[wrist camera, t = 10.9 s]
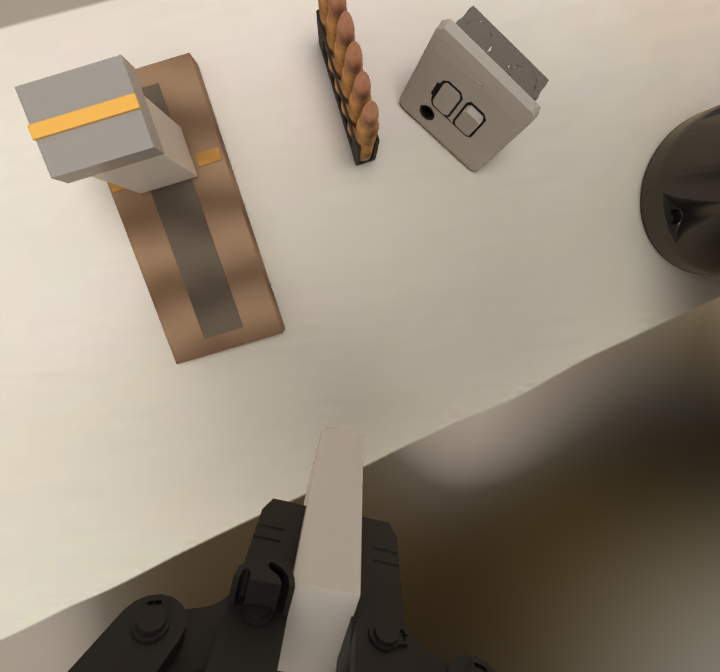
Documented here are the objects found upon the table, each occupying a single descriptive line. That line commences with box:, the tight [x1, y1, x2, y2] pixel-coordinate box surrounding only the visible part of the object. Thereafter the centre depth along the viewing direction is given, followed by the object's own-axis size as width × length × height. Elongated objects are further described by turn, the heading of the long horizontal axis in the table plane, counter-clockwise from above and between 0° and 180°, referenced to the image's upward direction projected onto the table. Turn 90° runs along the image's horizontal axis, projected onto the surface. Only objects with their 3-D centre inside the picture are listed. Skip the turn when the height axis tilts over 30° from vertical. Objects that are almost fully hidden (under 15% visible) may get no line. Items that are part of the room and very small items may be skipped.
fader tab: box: [15, 55, 198, 194], centre depth 30 cm, size 5×6×11 cm
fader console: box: [107, 53, 285, 364], centre depth 38 cm, size 24×10×2 cm, turn 16°
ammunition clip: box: [316, 0, 379, 165], centre depth 32 cm, size 11×2×12 cm, turn 18°
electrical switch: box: [400, 6, 549, 171], centre depth 34 cm, size 9×5×9 cm, turn 51°
